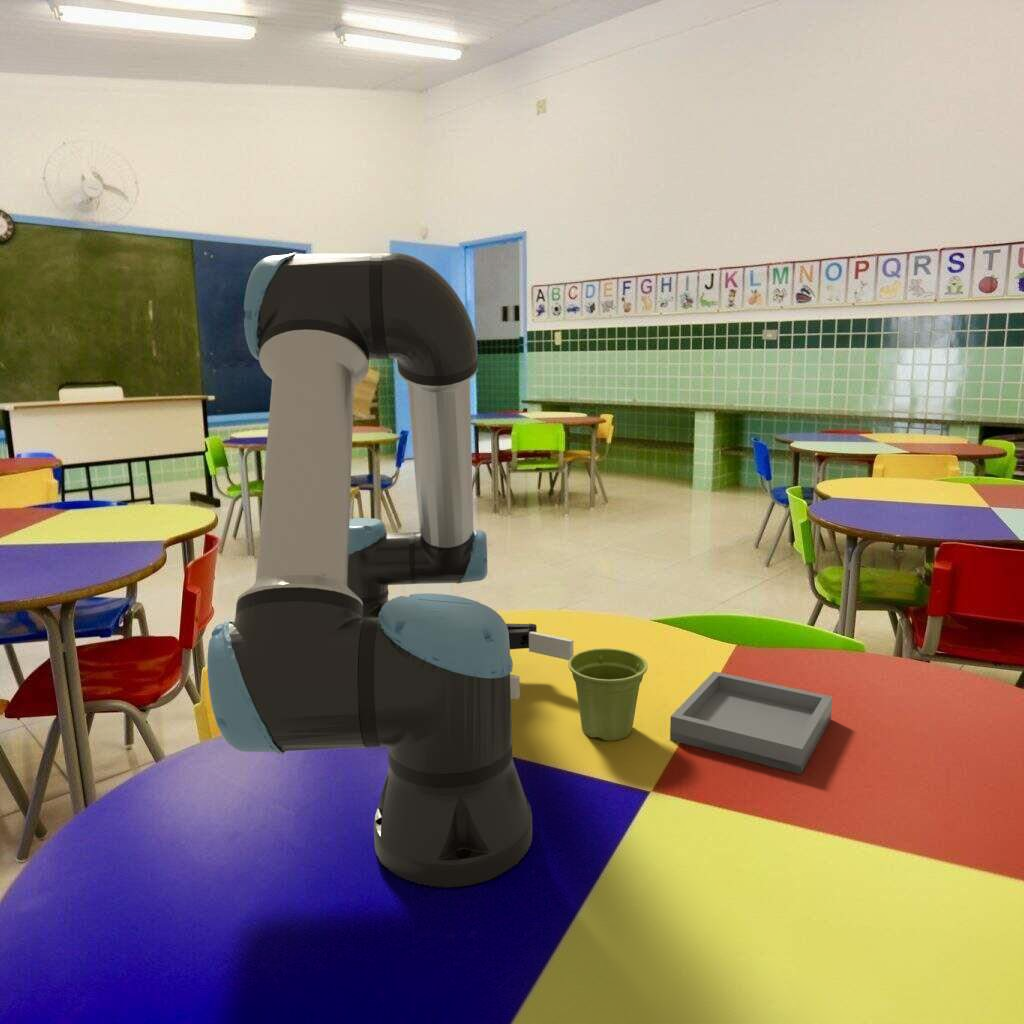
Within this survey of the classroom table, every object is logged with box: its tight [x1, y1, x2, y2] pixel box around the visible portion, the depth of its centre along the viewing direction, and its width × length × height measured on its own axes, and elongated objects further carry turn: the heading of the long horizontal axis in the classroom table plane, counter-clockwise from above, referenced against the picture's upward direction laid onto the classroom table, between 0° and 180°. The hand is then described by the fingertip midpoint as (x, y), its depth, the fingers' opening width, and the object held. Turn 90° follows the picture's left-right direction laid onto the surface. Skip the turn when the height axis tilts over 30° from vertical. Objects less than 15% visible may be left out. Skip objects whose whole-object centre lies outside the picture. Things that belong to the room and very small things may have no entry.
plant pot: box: [567, 647, 649, 742], centre depth 97 cm, size 9×9×9 cm
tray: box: [669, 671, 833, 775], centre depth 97 cm, size 15×15×3 cm
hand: (546, 668), depth 102 cm, fingers open, 13 cm apart
